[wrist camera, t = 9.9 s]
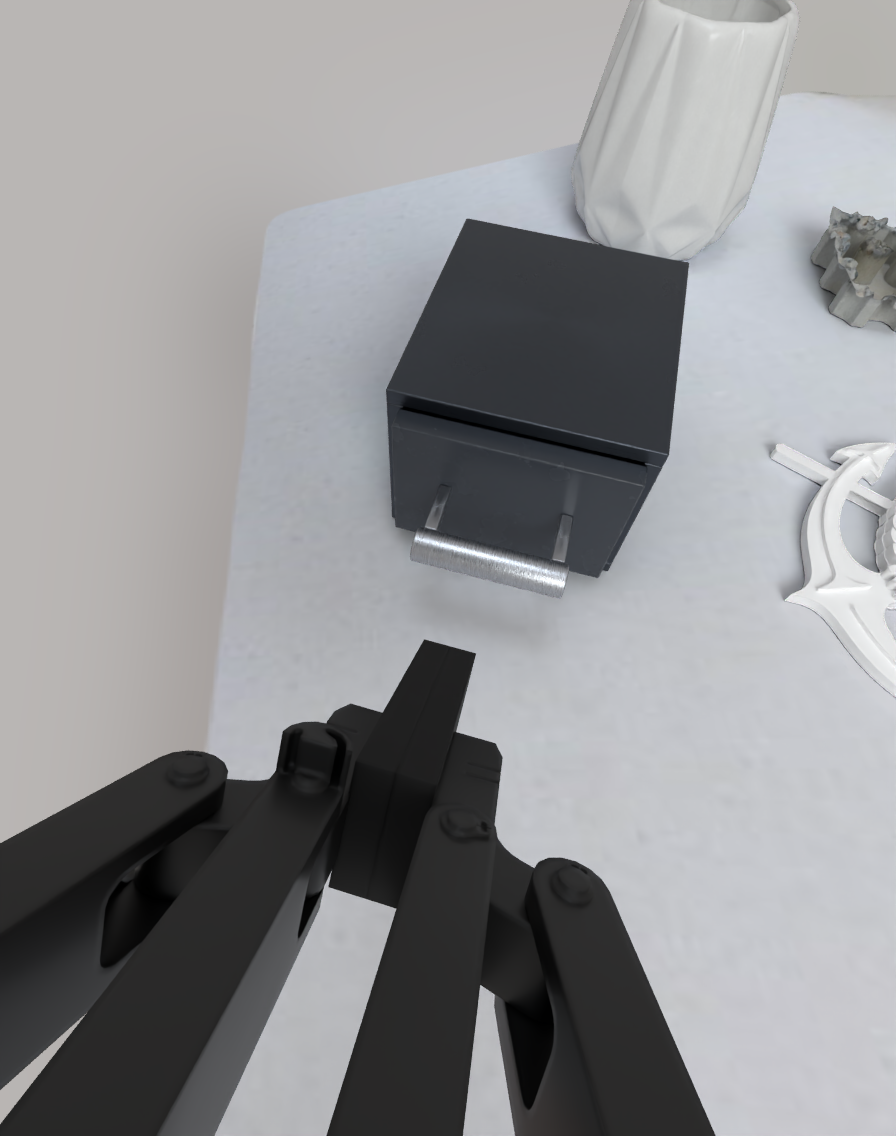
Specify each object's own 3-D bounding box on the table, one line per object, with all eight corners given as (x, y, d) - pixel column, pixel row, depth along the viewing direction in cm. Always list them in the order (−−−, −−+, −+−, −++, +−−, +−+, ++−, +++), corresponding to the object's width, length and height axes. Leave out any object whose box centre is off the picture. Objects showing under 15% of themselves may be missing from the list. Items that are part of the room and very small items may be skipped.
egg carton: (923, 339, 46) (965, 291, 43) (823, 325, 47) (856, 275, 43) (893, 258, 52) (928, 209, 48) (804, 245, 52) (832, 195, 49)
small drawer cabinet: (607, 571, 34) (669, 455, 26) (391, 517, 35) (385, 389, 27) (635, 395, 42) (689, 262, 33) (456, 356, 43) (466, 217, 35)
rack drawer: (586, 649, 31) (635, 568, 24) (369, 592, 32) (357, 499, 25) (626, 407, 40) (669, 299, 33) (456, 369, 41) (465, 257, 34)
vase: (581, 277, 48) (643, 35, 35) (549, 183, 56) (591, -47, 43) (750, 275, 50) (869, 41, 37) (697, 183, 57) (781, -40, 44)
